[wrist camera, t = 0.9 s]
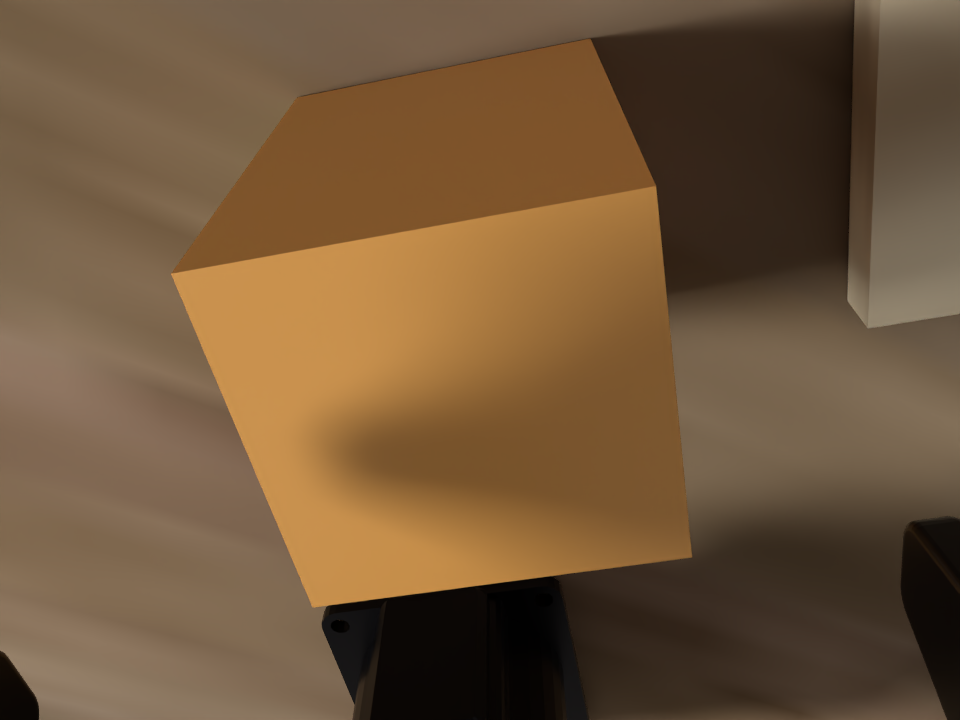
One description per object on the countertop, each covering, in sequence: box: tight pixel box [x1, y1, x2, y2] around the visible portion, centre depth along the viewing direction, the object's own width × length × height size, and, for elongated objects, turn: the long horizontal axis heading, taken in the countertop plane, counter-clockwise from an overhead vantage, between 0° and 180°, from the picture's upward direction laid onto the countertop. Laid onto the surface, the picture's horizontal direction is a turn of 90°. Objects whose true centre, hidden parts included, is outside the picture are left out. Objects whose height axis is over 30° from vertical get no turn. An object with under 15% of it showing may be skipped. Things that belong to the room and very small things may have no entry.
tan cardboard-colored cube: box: [171, 39, 692, 607], centre depth 14 cm, size 6×6×8 cm
